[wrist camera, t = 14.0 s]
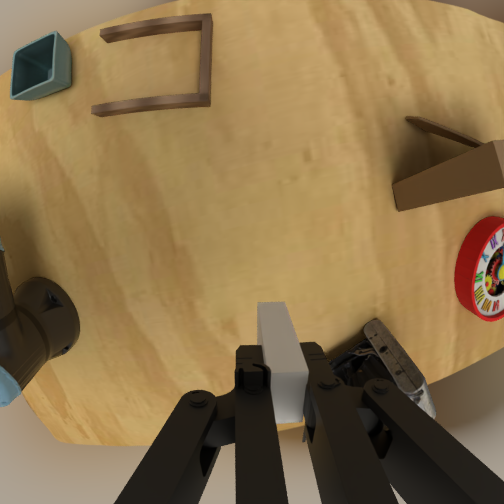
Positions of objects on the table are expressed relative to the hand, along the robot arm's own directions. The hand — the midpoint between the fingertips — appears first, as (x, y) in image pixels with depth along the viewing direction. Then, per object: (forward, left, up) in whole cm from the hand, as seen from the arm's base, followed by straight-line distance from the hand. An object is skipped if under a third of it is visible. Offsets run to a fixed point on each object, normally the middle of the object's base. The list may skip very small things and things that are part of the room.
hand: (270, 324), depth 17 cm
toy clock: (+48, -6, -30) cm, 57 cm away
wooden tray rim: (-14, +26, -29) cm, 42 cm away
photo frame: (+32, +13, -30) cm, 46 cm away
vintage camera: (+18, -23, -30) cm, 42 cm away
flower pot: (-32, +27, -30) cm, 51 cm away
